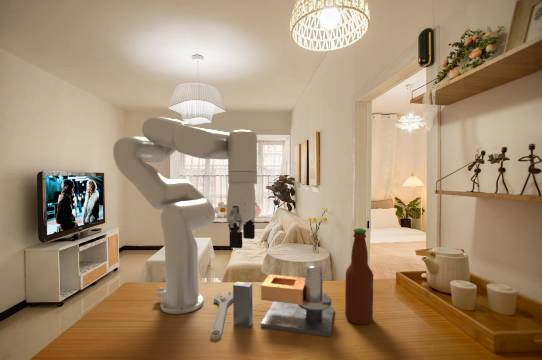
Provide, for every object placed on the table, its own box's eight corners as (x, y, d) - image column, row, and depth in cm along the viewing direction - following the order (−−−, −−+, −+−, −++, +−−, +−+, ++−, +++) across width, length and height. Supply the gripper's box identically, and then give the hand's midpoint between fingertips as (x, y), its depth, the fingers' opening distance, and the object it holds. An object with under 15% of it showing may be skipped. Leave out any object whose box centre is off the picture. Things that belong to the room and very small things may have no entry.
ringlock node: (258, 326, 78) (257, 270, 78) (271, 303, 92) (271, 255, 91) (330, 337, 74) (330, 277, 73) (333, 310, 87) (334, 260, 86)
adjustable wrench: (220, 342, 73) (220, 335, 72) (194, 341, 73) (194, 334, 73) (236, 296, 98) (236, 291, 97) (217, 296, 98) (217, 290, 98)
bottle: (378, 321, 81) (379, 230, 80) (359, 328, 77) (360, 233, 76) (358, 310, 87) (359, 225, 86) (339, 316, 84) (340, 228, 83)
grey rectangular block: (233, 325, 79) (233, 285, 78) (236, 321, 81) (236, 281, 81) (249, 328, 78) (249, 286, 77) (252, 323, 80) (252, 283, 80)
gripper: (240, 176, 87) (241, 234, 88) (214, 179, 70) (215, 250, 71) (265, 177, 85) (265, 236, 86) (244, 180, 68) (245, 253, 69)
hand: (242, 242), depth 79 cm, fingers open, 9 cm apart
